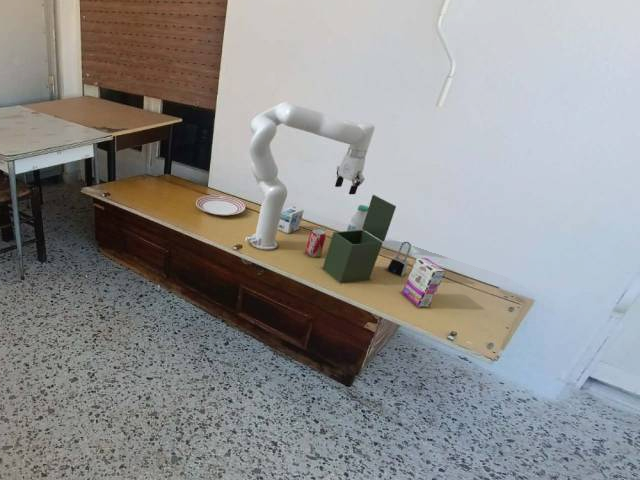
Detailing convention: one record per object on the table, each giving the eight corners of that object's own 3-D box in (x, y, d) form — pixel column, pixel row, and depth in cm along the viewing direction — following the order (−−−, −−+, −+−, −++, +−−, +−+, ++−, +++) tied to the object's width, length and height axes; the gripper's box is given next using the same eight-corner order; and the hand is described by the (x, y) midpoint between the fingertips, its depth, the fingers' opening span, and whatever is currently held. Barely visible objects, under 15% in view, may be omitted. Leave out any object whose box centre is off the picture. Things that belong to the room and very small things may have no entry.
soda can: (321, 259, 211) (328, 235, 205) (305, 257, 212) (312, 233, 206) (319, 252, 217) (325, 229, 211) (303, 250, 218) (310, 227, 212)
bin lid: (394, 206, 179) (396, 206, 179) (372, 195, 189) (374, 194, 189) (382, 241, 187) (384, 241, 187) (362, 228, 197) (363, 228, 197)
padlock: (385, 270, 204) (397, 240, 196) (390, 267, 206) (402, 237, 199) (400, 276, 200) (413, 246, 192) (405, 274, 202) (418, 243, 194)
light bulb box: (287, 234, 233) (292, 214, 227) (276, 229, 238) (281, 210, 232) (299, 229, 239) (304, 209, 233) (288, 224, 243) (293, 205, 238)
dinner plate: (234, 223, 242) (235, 217, 240) (187, 211, 254) (188, 205, 252) (251, 207, 262) (252, 202, 260) (207, 197, 274) (207, 191, 272)
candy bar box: (429, 307, 179) (446, 271, 171) (417, 307, 179) (434, 271, 170) (412, 292, 189) (427, 257, 180) (401, 292, 188) (415, 257, 180)
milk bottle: (358, 242, 228) (371, 205, 217) (360, 249, 221) (373, 210, 211) (342, 240, 230) (354, 202, 219) (343, 246, 223) (355, 208, 213)
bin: (340, 282, 193) (352, 245, 184) (322, 268, 203) (333, 232, 194) (369, 279, 197) (383, 242, 187) (350, 265, 207) (362, 229, 197)
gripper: (337, 147, 205) (326, 184, 215) (363, 158, 191) (350, 197, 201) (350, 147, 207) (339, 183, 216) (377, 158, 193) (364, 196, 203)
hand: (344, 190), depth 209 cm, fingers open, 9 cm apart
